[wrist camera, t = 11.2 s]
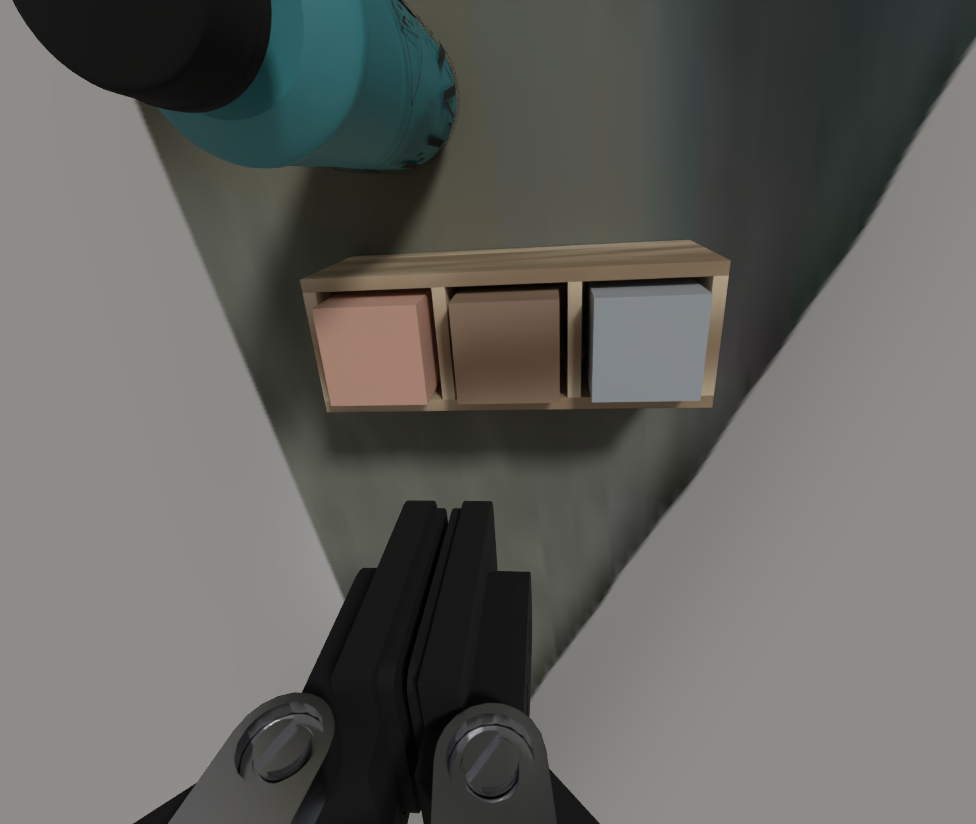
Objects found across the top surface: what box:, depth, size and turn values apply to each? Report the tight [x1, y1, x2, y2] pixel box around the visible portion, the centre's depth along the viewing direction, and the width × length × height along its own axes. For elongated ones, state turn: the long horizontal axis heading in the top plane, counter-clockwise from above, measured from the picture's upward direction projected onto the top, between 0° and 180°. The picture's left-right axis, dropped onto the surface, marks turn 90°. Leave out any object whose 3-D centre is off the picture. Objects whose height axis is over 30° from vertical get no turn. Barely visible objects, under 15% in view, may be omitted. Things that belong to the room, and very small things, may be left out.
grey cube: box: [585, 277, 713, 402], centre depth 24 cm, size 5×5×5 cm
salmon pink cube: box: [312, 288, 441, 406], centre depth 26 cm, size 5×5×5 cm
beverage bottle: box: [13, 0, 459, 174], centre depth 18 cm, size 6×7×20 cm
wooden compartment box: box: [300, 240, 731, 412], centre depth 27 cm, size 7×19×7 cm, turn 94°
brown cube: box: [448, 282, 560, 404], centre depth 25 cm, size 5×5×5 cm
